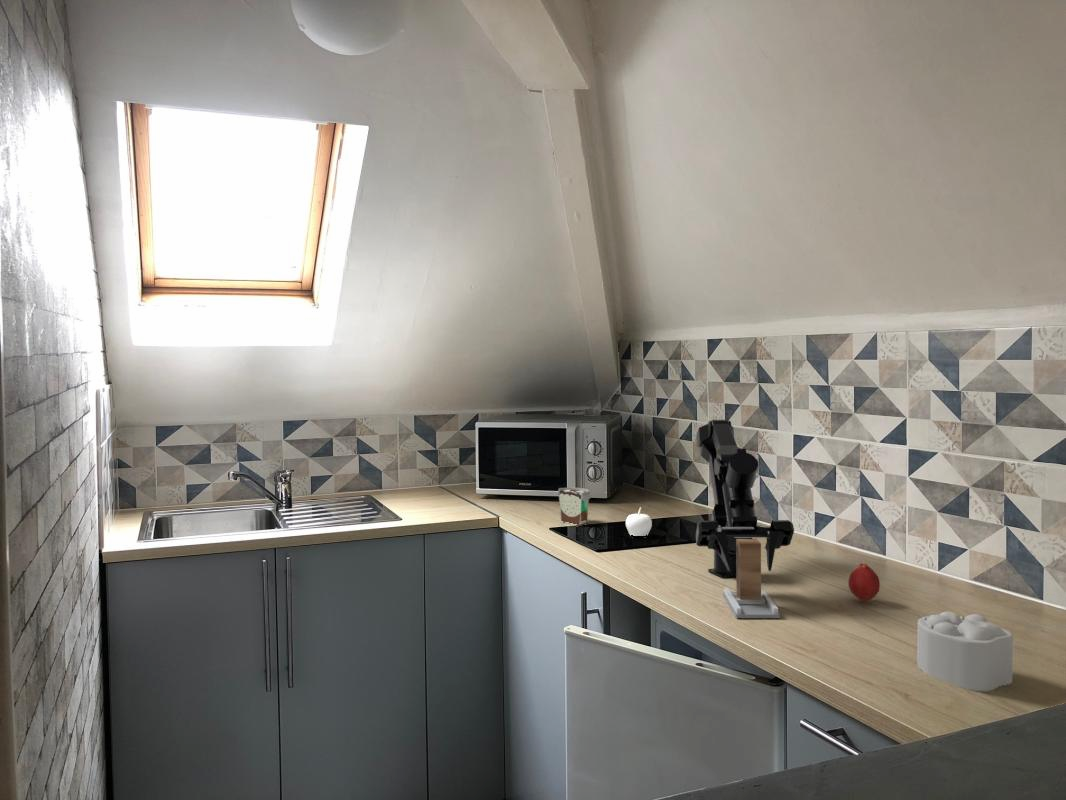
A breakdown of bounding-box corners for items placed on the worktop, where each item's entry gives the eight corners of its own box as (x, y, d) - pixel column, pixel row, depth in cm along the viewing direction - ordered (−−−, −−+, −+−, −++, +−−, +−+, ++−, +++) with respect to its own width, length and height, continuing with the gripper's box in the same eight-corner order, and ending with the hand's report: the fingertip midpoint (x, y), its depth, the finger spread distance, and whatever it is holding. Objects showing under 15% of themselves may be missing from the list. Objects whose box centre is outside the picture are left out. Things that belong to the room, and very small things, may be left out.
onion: (854, 596, 172) (854, 557, 172) (883, 601, 168) (884, 561, 168) (844, 603, 168) (844, 562, 167) (874, 608, 164) (874, 567, 164)
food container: (599, 525, 248) (599, 491, 248) (583, 527, 245) (582, 493, 244) (574, 518, 259) (573, 486, 258) (558, 521, 255) (557, 488, 255)
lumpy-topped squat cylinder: (979, 695, 122) (979, 635, 122) (900, 667, 134) (900, 612, 133) (1021, 680, 127) (1022, 623, 127) (942, 654, 139) (942, 602, 138)
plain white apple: (656, 538, 230) (656, 508, 229) (633, 540, 227) (632, 510, 227) (644, 533, 236) (644, 504, 236) (621, 535, 234) (621, 506, 233)
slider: (722, 596, 174) (722, 587, 174) (762, 596, 173) (762, 587, 173) (736, 618, 159) (736, 609, 159) (779, 618, 158) (779, 609, 158)
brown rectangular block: (732, 597, 170) (732, 538, 169) (759, 596, 170) (759, 538, 169) (737, 604, 165) (736, 544, 164) (765, 604, 165) (765, 543, 164)
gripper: (778, 525, 181) (791, 590, 171) (690, 525, 182) (697, 591, 172) (787, 494, 173) (801, 561, 163) (694, 495, 174) (703, 562, 164)
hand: (750, 570), depth 165 cm, fingers open, 7 cm apart
